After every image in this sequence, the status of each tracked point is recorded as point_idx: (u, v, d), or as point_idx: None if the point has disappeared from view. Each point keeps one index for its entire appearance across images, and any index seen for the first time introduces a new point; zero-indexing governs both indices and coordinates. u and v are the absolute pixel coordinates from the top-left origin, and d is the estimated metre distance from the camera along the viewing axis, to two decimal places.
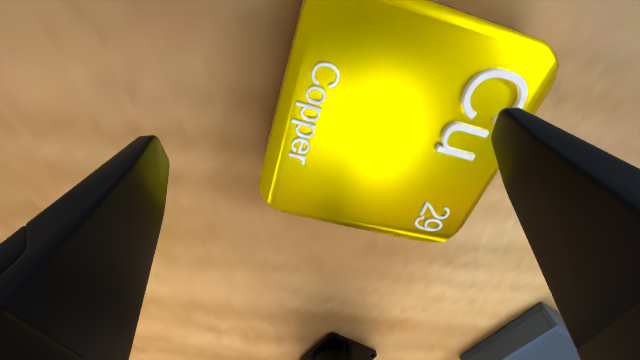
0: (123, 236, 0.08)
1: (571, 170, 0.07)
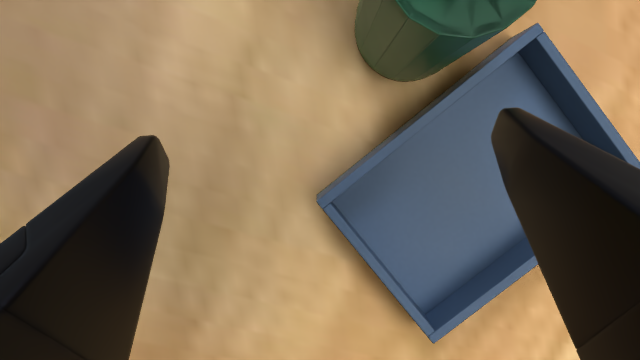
0: (123, 236, 0.08)
1: (571, 170, 0.07)
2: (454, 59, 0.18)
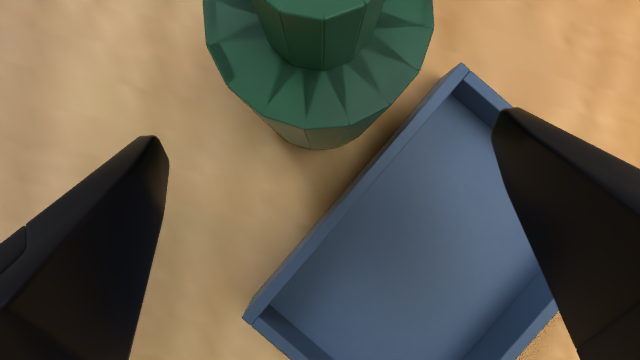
0: (123, 236, 0.08)
1: (571, 170, 0.07)
2: (363, 129, 0.15)
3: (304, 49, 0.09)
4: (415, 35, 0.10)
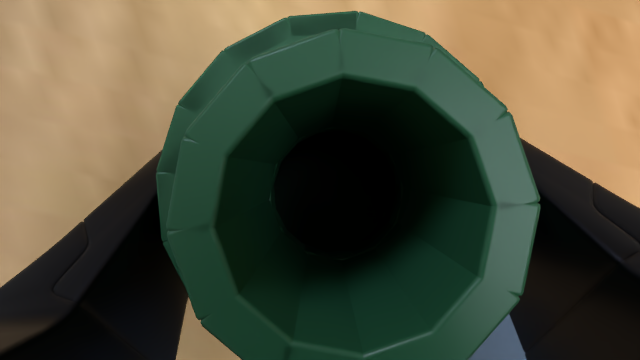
0: None
1: None
2: None
3: None
4: None
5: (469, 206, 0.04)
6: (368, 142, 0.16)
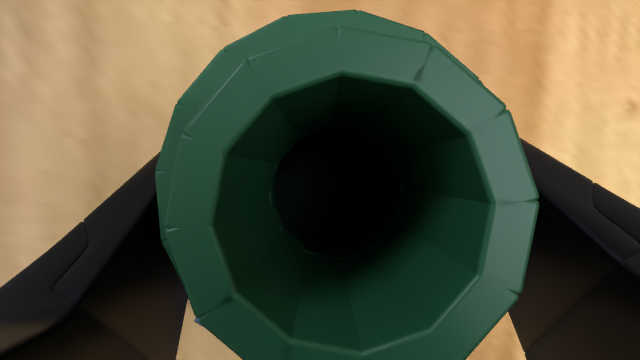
0: None
1: None
2: None
3: None
4: None
5: (468, 204, 0.04)
6: (368, 142, 0.16)
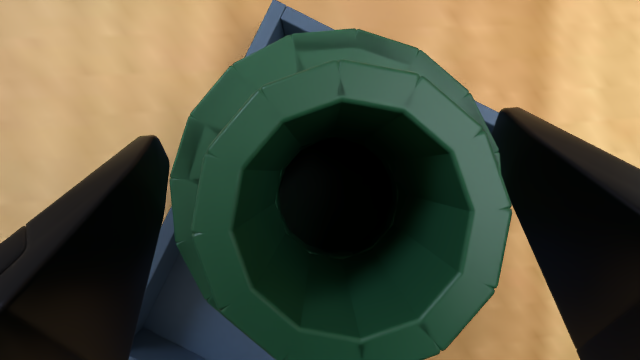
0: (123, 236, 0.08)
1: (571, 170, 0.07)
2: None
3: None
4: None
5: (452, 211, 0.04)
6: None
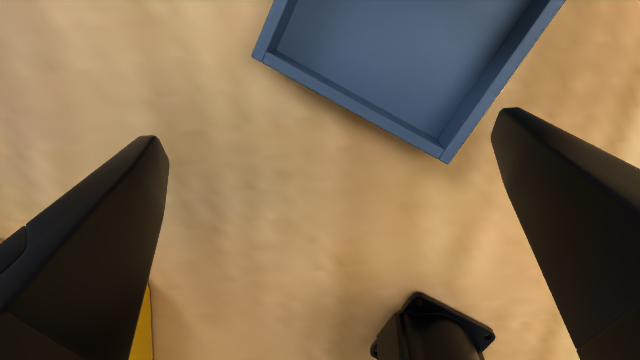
0: (123, 236, 0.08)
1: (571, 170, 0.07)
2: None
3: None
4: None
5: None
6: None
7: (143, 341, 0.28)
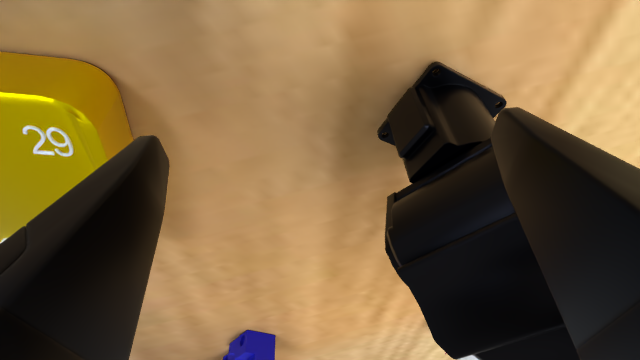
0: (123, 236, 0.08)
1: (571, 170, 0.07)
2: None
3: None
4: None
5: None
6: None
7: None
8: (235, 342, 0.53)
